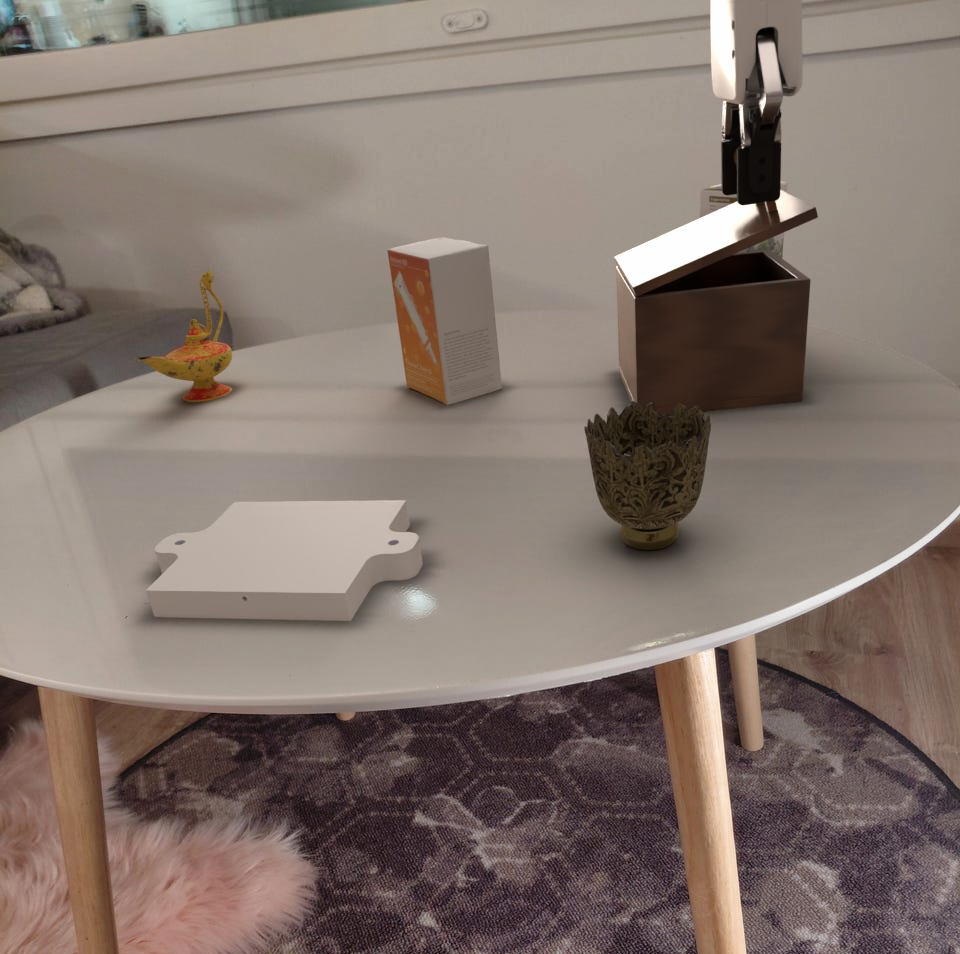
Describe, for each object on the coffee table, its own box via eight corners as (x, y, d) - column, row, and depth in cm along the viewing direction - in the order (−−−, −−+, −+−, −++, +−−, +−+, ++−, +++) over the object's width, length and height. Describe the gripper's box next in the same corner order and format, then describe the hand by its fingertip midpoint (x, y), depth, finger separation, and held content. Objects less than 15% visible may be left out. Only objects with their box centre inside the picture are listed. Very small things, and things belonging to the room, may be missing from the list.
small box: (405, 388, 95) (385, 248, 89) (461, 372, 98) (445, 235, 91) (446, 406, 89) (427, 257, 82) (504, 389, 92) (490, 243, 85)
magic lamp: (125, 431, 93) (89, 314, 87) (209, 373, 108) (182, 269, 102) (189, 429, 92) (156, 310, 86) (265, 371, 106) (242, 265, 100)
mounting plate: (118, 616, 61) (109, 590, 60) (209, 526, 72) (202, 502, 71) (391, 622, 57) (386, 593, 56) (444, 525, 67) (441, 499, 66)
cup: (725, 524, 63) (729, 404, 59) (685, 576, 58) (685, 448, 53) (619, 510, 66) (615, 395, 62) (571, 557, 61) (563, 436, 57)
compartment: (764, 359, 91) (769, 249, 86) (802, 402, 80) (810, 279, 75) (619, 374, 92) (615, 266, 87) (637, 419, 81) (634, 298, 76)
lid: (775, 194, 84) (758, 127, 81) (818, 217, 73) (800, 141, 70) (617, 265, 87) (595, 202, 84) (636, 297, 76) (612, 226, 73)
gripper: (842, -106, 61) (829, 205, 70) (774, -77, 76) (771, 178, 85) (721, -85, 62) (724, 220, 71) (677, -60, 76) (684, 191, 86)
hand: (749, 194), depth 78 cm, fingers closed on lid, 5 cm apart
